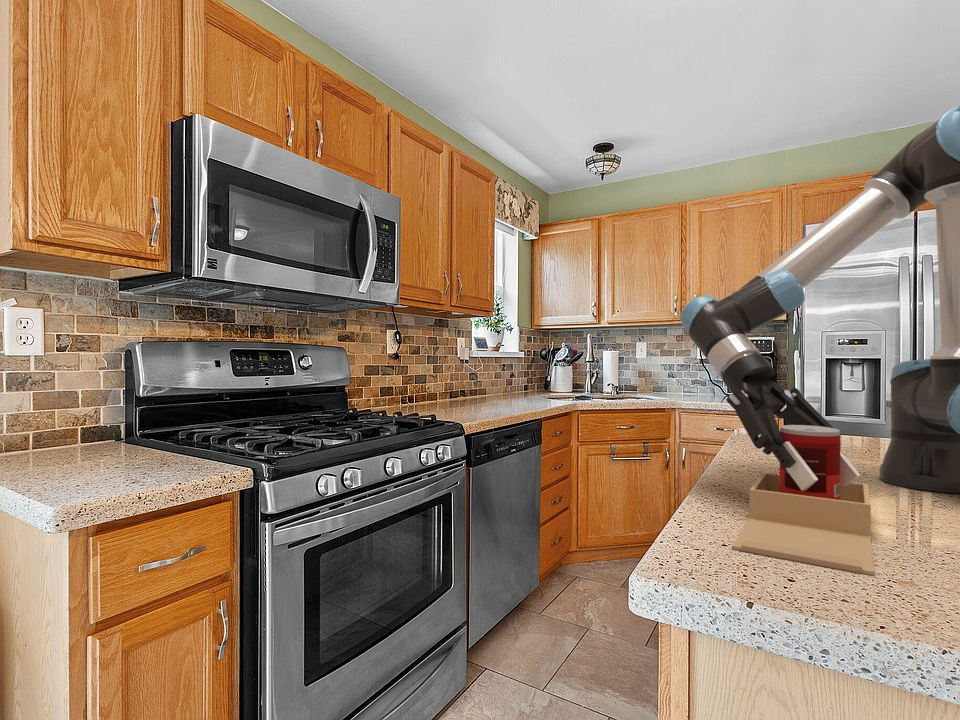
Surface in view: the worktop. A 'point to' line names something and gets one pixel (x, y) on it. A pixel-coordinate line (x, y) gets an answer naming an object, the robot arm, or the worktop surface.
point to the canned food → (814, 459)
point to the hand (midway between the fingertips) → (831, 482)
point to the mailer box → (809, 526)
